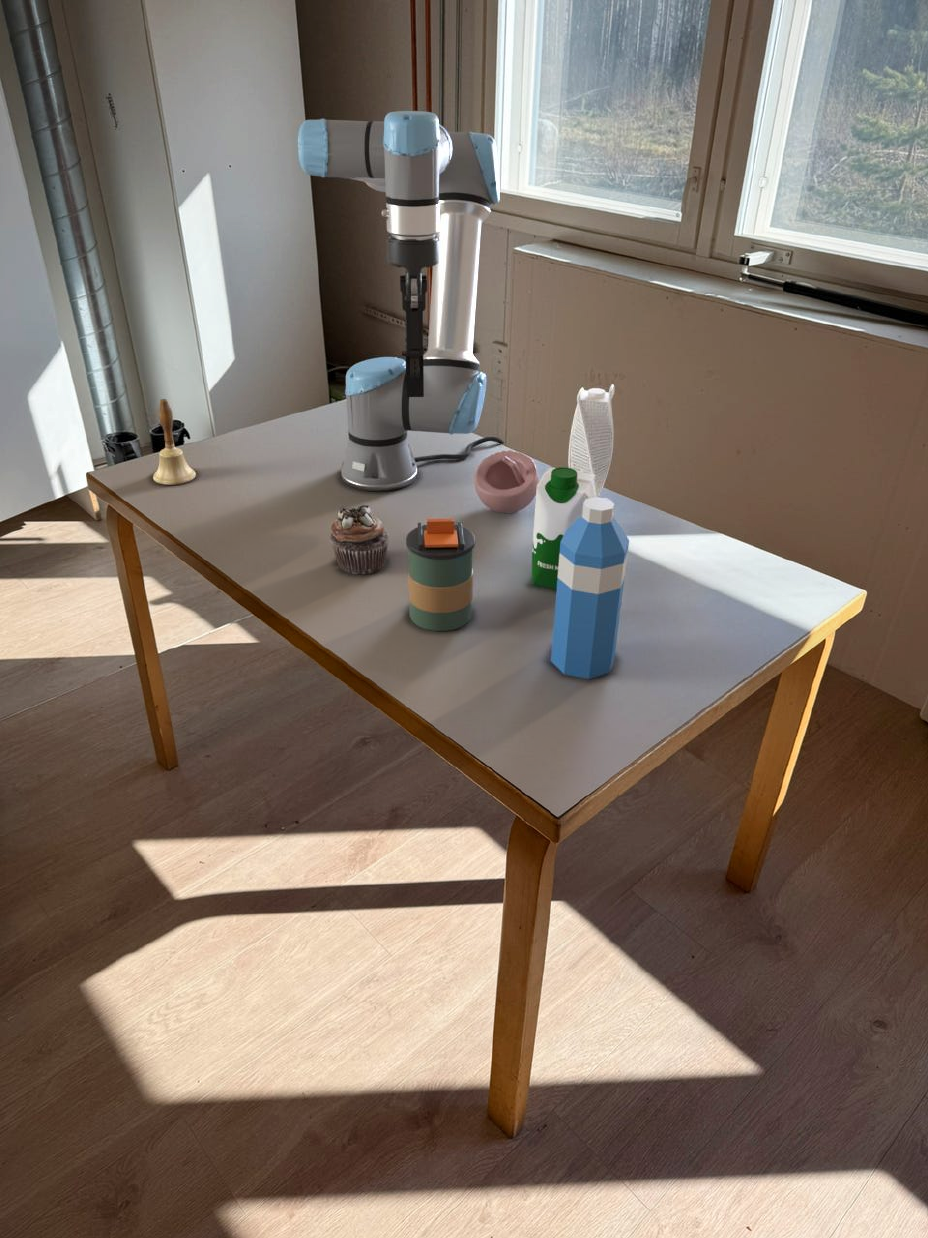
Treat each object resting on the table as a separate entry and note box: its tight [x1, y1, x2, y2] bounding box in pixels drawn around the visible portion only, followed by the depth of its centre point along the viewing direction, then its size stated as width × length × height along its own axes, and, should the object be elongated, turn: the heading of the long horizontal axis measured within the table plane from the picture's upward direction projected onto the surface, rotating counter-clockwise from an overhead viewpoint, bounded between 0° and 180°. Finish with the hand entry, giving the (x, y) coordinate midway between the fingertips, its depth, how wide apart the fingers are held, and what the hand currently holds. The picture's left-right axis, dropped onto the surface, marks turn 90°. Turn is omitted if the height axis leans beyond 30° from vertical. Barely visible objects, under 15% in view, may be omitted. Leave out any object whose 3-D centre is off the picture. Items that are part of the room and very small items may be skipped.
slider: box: [424, 518, 458, 548], centre depth 134 cm, size 4×5×2 cm
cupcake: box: [330, 504, 390, 575], centre depth 154 cm, size 10×10×10 cm
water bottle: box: [550, 496, 630, 680], centre depth 127 cm, size 9×9×25 cm
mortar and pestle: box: [474, 449, 540, 514], centre depth 172 cm, size 12×12×12 cm
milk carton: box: [531, 466, 595, 590], centre depth 148 cm, size 9×9×20 cm
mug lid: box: [405, 521, 476, 560], centre depth 136 cm, size 10×10×2 cm
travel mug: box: [407, 548, 474, 632], centre depth 140 cm, size 10×10×12 cm
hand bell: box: [152, 398, 197, 486], centre depth 181 cm, size 8×8×16 cm
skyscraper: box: [567, 383, 615, 497], centre depth 160 cm, size 8×8×28 cm
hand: (415, 395), depth 144 cm, fingers closed
